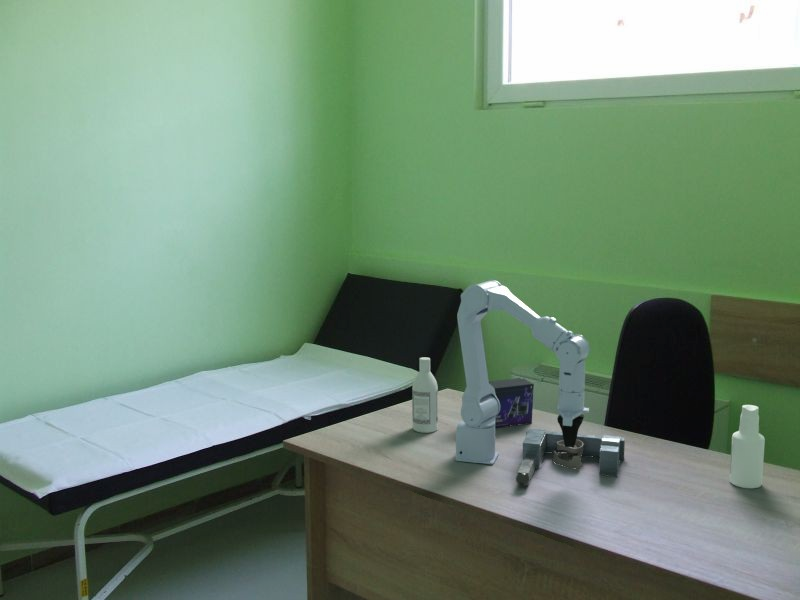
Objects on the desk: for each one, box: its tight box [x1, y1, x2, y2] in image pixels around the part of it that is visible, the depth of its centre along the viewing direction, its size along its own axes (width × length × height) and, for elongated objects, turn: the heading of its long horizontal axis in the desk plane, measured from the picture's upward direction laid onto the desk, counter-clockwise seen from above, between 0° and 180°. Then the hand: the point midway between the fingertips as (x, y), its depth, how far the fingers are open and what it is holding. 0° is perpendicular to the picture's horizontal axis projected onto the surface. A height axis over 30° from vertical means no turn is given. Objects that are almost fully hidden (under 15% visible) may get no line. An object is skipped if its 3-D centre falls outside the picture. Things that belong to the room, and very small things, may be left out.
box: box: [488, 377, 535, 429], centre depth 229 cm, size 17×7×12 cm, turn 111°
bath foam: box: [411, 356, 439, 434], centre depth 225 cm, size 7×7×20 cm
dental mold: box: [552, 440, 584, 470], centre depth 200 cm, size 8×7×5 cm
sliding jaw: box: [515, 428, 547, 487], centre depth 196 cm, size 4×24×6 cm, turn 163°
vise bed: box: [525, 428, 626, 477], centre depth 201 cm, size 24×13×7 cm, turn 72°
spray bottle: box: [729, 404, 766, 489], centre depth 186 cm, size 7×7×18 cm
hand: (569, 446), depth 190 cm, fingers closed
